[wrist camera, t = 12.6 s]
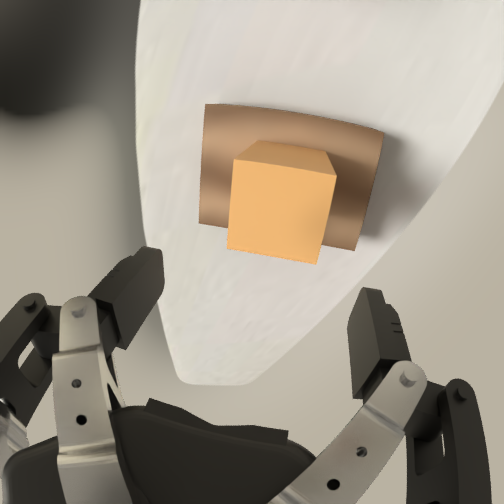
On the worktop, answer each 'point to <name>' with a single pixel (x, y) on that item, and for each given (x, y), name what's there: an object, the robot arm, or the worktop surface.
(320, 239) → the peach foam cube
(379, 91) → the worktop surface
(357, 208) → the brown slab
